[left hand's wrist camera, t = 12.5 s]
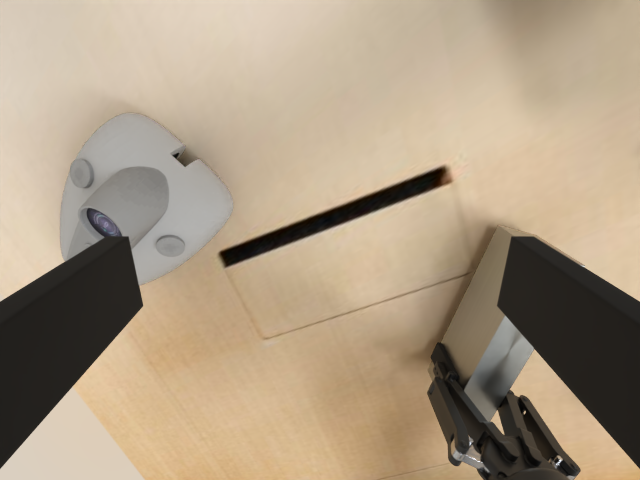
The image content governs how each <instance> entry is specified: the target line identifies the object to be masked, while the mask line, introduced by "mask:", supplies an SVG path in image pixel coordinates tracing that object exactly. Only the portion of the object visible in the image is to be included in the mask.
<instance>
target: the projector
mask: <svg viewBox="0 0 640 480" xmlns="http://www.w3.org/2000/svg"><path fill="white" fill-rule="evenodd" d="M185 148H186V146H185V145H184V144H183V143H182V142H181V141H180V140H178V139H177V138H176V137H175V136H174V135H173V134H172V133H170V132H169V131H168V130H167V129H165V128H164V127H163V126H162V125H160V124H159V123H157V122H156V121H154V120H152V119H151V118H149V117H146V116H144V115H141V114H137V113H124V114H120V115H118V116H115V117H114V118H112V119H110V120H109V121H107V122H106V123H105V124H103V125H102V126H101V127H100V128H99V129H98V130H97V131H96V132H94V133H93V135H92V136H91V137H90V138H89V139H88V141H87V142H86V143H85V144H84V146H83V147H82V149H81V150H80V152H79V153H78V155H77V157H76V159H75V160H74V161H73V163H72V164H71V167H70V172H69V175H68V178H67V181H66V184H65V188H64V192H63V197H62V204H61V214H60V243H61V251H62V256H63V259H64V260H65V261H67V260H69V259H70V258H72V257H74V256H75V255H77V254H78V253H80V252H82V251H83V250H85V249H87V248H88V247H90V246H91V245H93V244H95V243H96V242H98V241H100V240H101V239H103V238H104V237H106V236H129V240H130V245H131V250H132V255H133V259H134V264H135V269H136V274H137V279H138V283H139V286H140V285H142V284H145V283H148V282H150V281H153V280H155V279H157V278H159V277H161V276H163V275H165V274H167V273H169V272H171V271H172V270H174V269H176V268H177V267H179V266H180V265H181V264H183V263H184V262H186V261H187V260H188V259H190V258H191V257H192V256H193V255H195V254H196V253H197V252H198V251H199V250H200V249H201V248H203V247H204V246H205V245H206V244H207V243H208V242H209V241H210V240H211V239H212V238H213V237H214V236H215V235H216V234H217V233H218V231H219V230H220V229H221V228H222V227H223V225H224V224H225V223H226V221H227V220H228V219H229V217H230V215H231V213H232V210H233V199H232V196H231V194H230V191H229V190H228V188H227V187H226V185H225V184H224V183H223V182H222V181H221V179H220V178H219V177H218V176H217V175H216V174H215V173H214V172H213V171H212V170H211V169H210V168H209V167H208V166H207V165H206V164H205V163H204V162H202V161H201V160H200V159H197V160H195V161H193V162H192V163H190V164H189V165H187V166H186V167H184V166H183V165H182V164H181V163H180V162H179V161H178V160H177V159H178V158H179V157H180V156H181V155H182V153H183V152H184V150H185Z"/></svg>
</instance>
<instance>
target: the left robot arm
mask: <svg viewBox="0 0 640 480" xmlns="http://www.w3.org/2000/svg"><path fill="white" fill-rule="evenodd" d="M142 307H143V302H142V298H141V293H140V288H139V283H138V279H137V274H136V269H135V264H134V259H133V255H132V250H131V245H130V240H129V236H106V237H104V238H103V239H101V240H100V241H98V242H96V243H95V244H93V245H91V246H90V247H88V248H87V249H85V250H83V251H82V252H80V253H78V254H77V255H75V256H74V257H72V258H70V259H69V260H67V261H65V262H64V263H62V264H61V265H59V266H57V267H56V268H54V269H53V270H51V271H49V272H48V273H46V274H44V275H43V276H41V277H40V278H38V279H36V280H35V281H33V282H31V283H30V284H28V285H27V286H25V287H23V288H22V289H20V290H18V291H17V292H15V293H14V294H12V295H10V296H9V297H7V298H5V299H4V300H2V301H1V302H0V468H1V467H2V466H3V465H4V464H5V463H6V462H7V460H8V459H9V458H10V457H11V456H12V455H13V454H14V452H15V451H16V450H17V449H18V448H19V447H20V446H21V445H22V443H23V442H24V441H25V440H26V439H27V438H28V437H29V435H30V434H31V433H32V432H33V431H34V430H35V429H36V427H37V426H38V425H39V424H40V423H41V422H42V421H43V419H44V418H45V417H46V416H47V415H48V414H49V413H50V411H51V410H52V409H53V408H54V407H55V406H56V405H57V403H58V402H59V401H60V400H61V399H62V398H63V397H64V395H65V394H66V393H67V392H68V391H69V390H70V389H71V388H72V386H73V385H74V384H75V383H76V382H77V381H78V380H79V378H80V377H81V376H82V375H83V374H84V373H85V372H86V370H87V369H88V368H89V367H90V366H91V365H92V364H93V363H94V361H95V360H96V359H97V358H98V357H99V356H100V355H101V353H102V352H103V351H104V350H105V349H106V348H107V347H108V345H109V344H110V343H111V342H112V341H113V340H114V339H115V337H116V336H117V335H118V334H119V333H120V332H121V331H122V329H123V328H124V327H125V326H126V325H127V324H128V323H129V322H130V320H131V319H132V318H133V317H134V316H135V315H136V314H137V312H138V311H139V310H140V309H141V308H142ZM497 307H498V308H499V309H500V310H501V311H502V312H503V314H504V315H505V316H506V317H507V318H508V319H509V320H510V322H511V323H512V324H513V325H514V326H515V327H516V328H517V329H518V331H519V332H520V333H521V334H522V335H523V336H524V337H525V339H526V340H527V341H528V342H529V343H530V344H531V345H532V347H533V348H534V349H535V350H536V351H537V352H538V353H539V355H540V356H541V357H542V358H543V359H544V360H545V361H546V363H547V364H548V365H549V366H550V367H551V368H552V369H553V370H554V372H555V373H556V374H557V375H558V376H559V377H560V378H561V380H562V381H563V382H564V383H565V384H566V385H567V386H568V388H569V389H570V390H571V391H572V392H573V393H574V394H575V396H576V397H577V398H578V399H579V400H580V401H581V402H582V404H583V405H584V406H585V407H586V408H587V409H588V410H589V411H590V413H591V414H592V415H593V416H594V417H595V418H596V419H597V421H598V422H599V423H600V424H601V425H602V426H603V427H604V429H605V430H606V431H607V432H608V433H609V434H610V435H611V437H612V438H613V439H614V440H615V441H616V442H617V443H618V445H619V446H620V447H621V448H622V449H623V450H624V451H625V453H626V454H627V455H628V456H629V457H630V458H631V459H632V460H633V462H634V463H635V464H636V465H637V466H638V467H639V468H640V302H639V301H638V300H636V299H635V298H633V297H631V296H630V295H628V294H626V293H625V292H623V291H622V290H620V289H618V288H617V287H615V286H613V285H612V284H610V283H609V282H607V281H605V280H604V279H602V278H600V277H599V276H597V275H596V274H594V273H592V272H591V271H589V270H587V269H586V268H584V267H583V266H581V265H579V264H578V263H576V262H575V261H573V260H571V259H570V258H568V257H566V256H565V255H563V254H562V253H560V252H558V251H557V250H555V249H553V248H552V247H550V246H549V245H547V244H545V243H544V242H542V241H540V240H539V239H537V238H536V237H534V236H511V240H510V245H509V250H508V255H507V259H506V264H505V269H504V274H503V279H502V283H501V288H500V293H499V298H498V302H497Z"/></svg>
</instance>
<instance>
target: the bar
mask: <svg viewBox="0 0 640 480" xmlns="http://www.w3.org/2000/svg"><path fill="white" fill-rule="evenodd" d="M511 236H534V237H536V238H537V239H539V240H540V241H542V242H544V243H545V244H547V245H549V246H550V247H552V248H553V249H555V250H557V251H558V252H560V253H562V254H563V255H565V256H566V257H568V258H570V259H571V260H573V261H575V262H576V263H578V264H579V265H581V266H583V267H585V265H583V264H582V263H580V262H578V261H577V260H575V259H573V258H572V257H570V256H569V255H567V254H565V253H564V252H562V251H561V250H559V249H557V248H556V247H554V246H553V245H551V244H549V243H548V242H546V241H545V240H543V239H541V238H540V237H538V236H537V235H534V234H530V233H526V232H523V231H519V230H515V229H512V228H508V227H504V226H501V225H498V226H497V229H496V231H495V233H494V235H493V237H492V239H491V241H490V243H489V245H488V247H487V249H486V251H485V253H484V255H483V257H482V259H481V261H480V263H479V265H478V267H477V269H476V272H475V274H474V276H473V278H472V280H471V282H470V284H469V286H468V288H467V290H466V292H465V294H464V296H463V298H462V300H461V302H460V304H459V306H458V308H457V310H456V312H455V315H454V317H453V319H452V321H451V323H450V325H449V327H448V329H447V331H446V333H445V335H444V337H443V339H442V341H441V343H442V344H443V345H444V347H445V349H446V351H447V353H448V355H449V357H450V359H451V361H452V363H453V365H454V367H455V369H456V371H457V373H458V375H459V378H458V380H457V383H458V384H459V385H460V386H461V388H462V389H463V390H464V392H465V393H466V394H467V395H468V397H469V398H470V399H471V401H472V402H473V403H474V404H475V406H476V407H477V408H478V410H479V411H480V412H481V413H482V415H483V416H484V417H485V419H486V420H487V421H488V422H490V421H491V419H492V417H493V416H494V414H495V412H496V411H497V409H498V408H499V406H500V404H501V403H502V401H503V399H504V398H505V396H506V394H507V393H508V391H509V390H510V388H511V386H512V385H513V383H514V381H515V380H516V378H517V377H518V375H519V373H520V372H521V370H522V368H523V367H524V365H525V363H526V362H527V360H528V359H529V357H530V355H531V354H532V352H533V350H534V348H533V347H532V345H531V344H530V343H529V342H528V341H527V340H526V339H525V337H524V336H523V335H522V334H521V333H520V332H519V331H518V329H517V328H516V327H515V326H514V325H513V324H512V323H511V322H510V320H509V319H508V318H507V317H506V316H505V315H504V314H503V312H502V311H501V310H500V309H499V308H498V307H497V302H498V298H499V293H500V288H501V283H502V279H503V274H504V269H505V264H506V259H507V255H508V250H509V245H510V240H511ZM433 368H434V364H433V361H432V362H431V364H430V366H429V368H428V372H429V374H430V377H431V380H432V382H433V380H434V378H435V375H434V373H433Z"/></svg>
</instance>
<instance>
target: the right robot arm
mask: <svg viewBox="0 0 640 480" xmlns="http://www.w3.org/2000/svg"><path fill="white" fill-rule="evenodd" d="M431 359H432V361H433V364H434V368H433V373H434V375H435V378H434V380H433V382H432V384H431V386H430V388H429V390H428V392H427V394H428V397H429V399H430V402H431V404H432V407H433V409H434V412H435V414H436V417H437V419H438V422H439V424H440V426H441V429H442V431H443V434H444V436H445V439H446V441H447V444H448V459H449V461H450V462H451V463H452V464H453V465H455V466H459V465H460V463H461V462H462V461H463V462H465V463H467V464H469V465H471V466H473V467H475V468H477V471H478V473H479V474H480V476H481V477H482V478H483V479H484V480H574V479H575V478H576V476H577V475H578V474H579V472H580V468H579V467H578V465H577V464H576V463H575V462H574V461H573V460H572V459H571V458H570V457H569V456H568V455H567V454H566V453H565V452H564V451H563V449H562V448H561V446H560V445H559V443H558V442H557V440H556V439H555V437H554V436H553V434H552V433H551V431H550V430H549V428H548V427H547V425H546V424H545V422H544V421H543V419H542V418H541V416H540V415H539V413H538V412H537V410H536V409H535V407H534V406H533V405H532V403H531V402H530V400H529V399H528V398H527V397H525V396H523V395H521V396H520V397H517V396H515V395H514V393H513V392H512V391H511V390H509V391H508V393H507V394H506V396H505V398H504V399H503V401H502V403H501V404H500V406H499V408H498V409H497V410H498V412H499V416H500V419H501V423H502V426H503V430H504V434H505V435H503V434H502V433H501V432H500V431H499V429H498V428H497V427H496V425H495V424H494V423H493V422H488V421H487V420H486V419H485V417H484V416H483V415H482V413H481V412H480V411H479V410H478V408H477V407H476V406H475V404H474V403H473V402H472V401H471V399H470V398H469V397H468V395H467V394H466V393H465V392H464V390H463V389H462V388H461V386H460V385H459V384H458V383H457V380H458V378H459V375H458V373H457V371H456V369H455V367H454V365H453V363H452V361H451V359H450V357H449V355H448V353H447V351H446V349H445V347H444V345H443V344H442V343H437V345H436V347H435V349H434V351H433V353H432V355H431ZM524 411H526V413H525V415H524ZM468 435H469V436H470V437H469V436H468Z"/></svg>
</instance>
